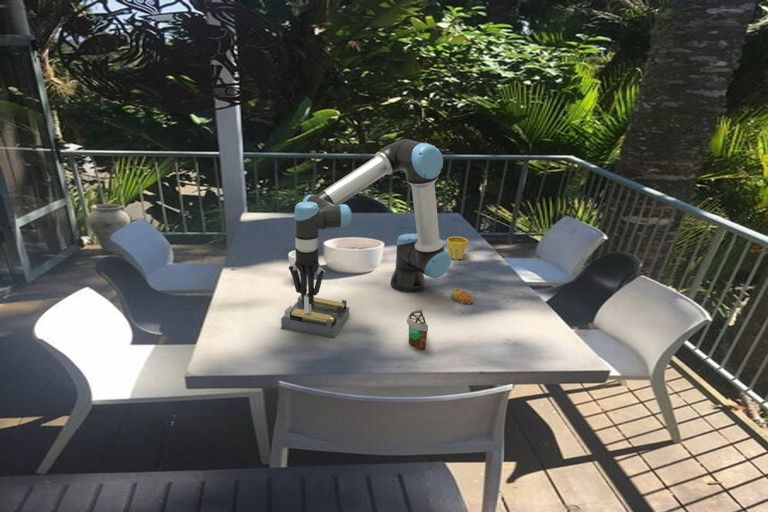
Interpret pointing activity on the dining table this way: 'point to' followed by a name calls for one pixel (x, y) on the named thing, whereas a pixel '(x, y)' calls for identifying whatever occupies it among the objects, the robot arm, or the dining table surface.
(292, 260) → the foam cup
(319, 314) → the latch bar front
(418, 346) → the iced coffee cup
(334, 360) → the dining table surface
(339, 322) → the base
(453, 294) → the pastry
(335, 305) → the bar
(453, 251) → the plant pot
